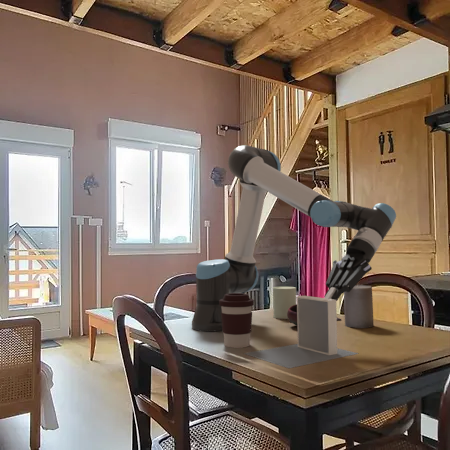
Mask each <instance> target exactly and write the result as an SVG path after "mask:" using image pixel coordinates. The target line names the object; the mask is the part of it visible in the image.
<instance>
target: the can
mask: <svg viewBox="0 0 450 450" xmlns="http://www.w3.org/2000/svg"><path fill="white" fill-rule="evenodd" d="M272 291H273V292H272V296H273V297H272V298H273V303H272V305H273V315H272V316H273V318H274V319H279V320H289V319H288V317H287V312H288V309H289V308H290V307H291V306H293V305H296V304H297V287H294V286H273V287H272Z"/></svg>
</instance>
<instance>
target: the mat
mask: <svg viewBox="0 0 450 450" xmlns="http://www.w3.org/2000/svg"><path fill="white" fill-rule="evenodd" d="M358 354H359V353H358V352H353V351H350V350H346V349H342V348H338V347H337V354H334V355H326V354H323V353H319V352H315V351H311V350H308V349H304V348H300V347H298V343H295V344H290V345H283V346H278V347H273V348H267V349H261V350H255V351H250V352H244V353H243V355H246V356H250V357H252V358H256V359H259V360H262V361H264V362H268V363H271V364H274V365H277V366H280V367H283V368H286V369H293V368H297V367H303V366H306V365H307V366H308V365H312V364H317V363H321V362H325V361H331V360H335V359H339V358H344V357H349V356H354V355H358Z"/></svg>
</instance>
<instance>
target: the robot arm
mask: <svg viewBox="0 0 450 450" xmlns="http://www.w3.org/2000/svg"><path fill="white" fill-rule="evenodd" d="M227 165H228V169H229V171H230V173H231V174H232V175H233V176H235V177H236V178H238V179H239V184H240V186H241V188H242V191H241V196H240V200H239V206H238V210H237V216H236V219H235V220H236V221H235V227H234V231H233V236H232V241H231V247H230V250H229V252H228V253H226V254H225V256H224V259H222V258H220V259H218V258H217V259H212V260H210V259H209V260H208V259H207V260H204V261H201V262H199V263H198V264H197V265H196V270H195V271H196V272H195V285H196V289H195V290H196V291H195V292H196V307H195V311H194V314H193V316H192V321H191V329H193V330H195V331H201V332H219V331H220V332H221V331H222V332H223V330H222V318H221V312H222V308H221V306H220V305H219V300H220V299H223V298H224V295H225V294H229V293H245V294H246V293H247V292H250V291H251V290H253V289H254V288H255V287H256V286H257V283H258V282H259V271H258V267H257V266H256V263H257V260H256V259H255V257H254V251H255V247H256V244H257V243H256V241H257V238H258V234H259V227H260V223H261V218H262V213H263V208H264V203H265V200H266V199H265V198H266V194H267V192H268V193H269V194H271V195H273V196H274V197H276V198H278V199H279V200H281V201H283V202H284V203H286V204H288V205H289V206H291V207H293V208H295V209H296V210H298V211H300V212H301V213H303V214H305V215H306V216H308V217H309V218H310V219H311V220H312V222H313V223H314V224H316V225H317V226H320V227H323V228H335V227H336V228H347V229H351V230H356V231H357V232H356V233H355V235H354V237H352V240H351V241H350V243H349V244H348V245H347V247H346V249H345V250H346V251H345V252H346V253H345V255H344V256H343V257H342V258H341V260H338V261H337V260H335V259H334V260H333V261H332V267H331V270H330V273H329V274H328V277H327V280H326V281H325V286H326V287H327V288H328V290H327V291H326V292H325V294H324V296H323V298H327V299H334V300H336V302H337V301H338V300H339V298H340V297H341V295H344V292H350V291H351V290H352V289H353V287H354V286H355V285H358V283H359V282H360V281H361V280H362V279H363V278H364V276H366V274H368V273H369V272H370V271H372V270H373V269H372V266H371V265H370V263H371V262H372V261H371V260H372V259H373V258H374V256H375V254H376V253H377V251H378V249H379V247H380V246H381V244H382V242H383V240H384V239H385V238H386V237H387V235H388V233H389V232H390V229H392V227H393V224H394V222H395V220H396V219H397V213H396V211H395V209H394V208H393V206H390V205H389V204H387V203H383V202H380V203H376V204H374V206H373V207H371V208H370V207H366V206H361V205H357V204H353V203H349V202H347V201H341V200H333V199H330V198H328V197H327V196H324V195H323V194H321V193H320V192H318V191H316V190H314V189H312V188H310V187H309V186H307V185H305V184H303V183H301V182H299V181H298V180H296V179H294V178H293V177H291V176H289V175H287V174H285V173H283V172H282V166H281V165H282V164H281V160H280V158H278V156H277V155H276V153H274V152H272V151H270V150H269V149H265V148H259V147H255V146H252V145H248V144H247V145H239V146H237V147H235V148H234V149H233V150H232V151H231V152H230V154H229V155H228V159H227ZM348 286H349V287H348Z"/></svg>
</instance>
